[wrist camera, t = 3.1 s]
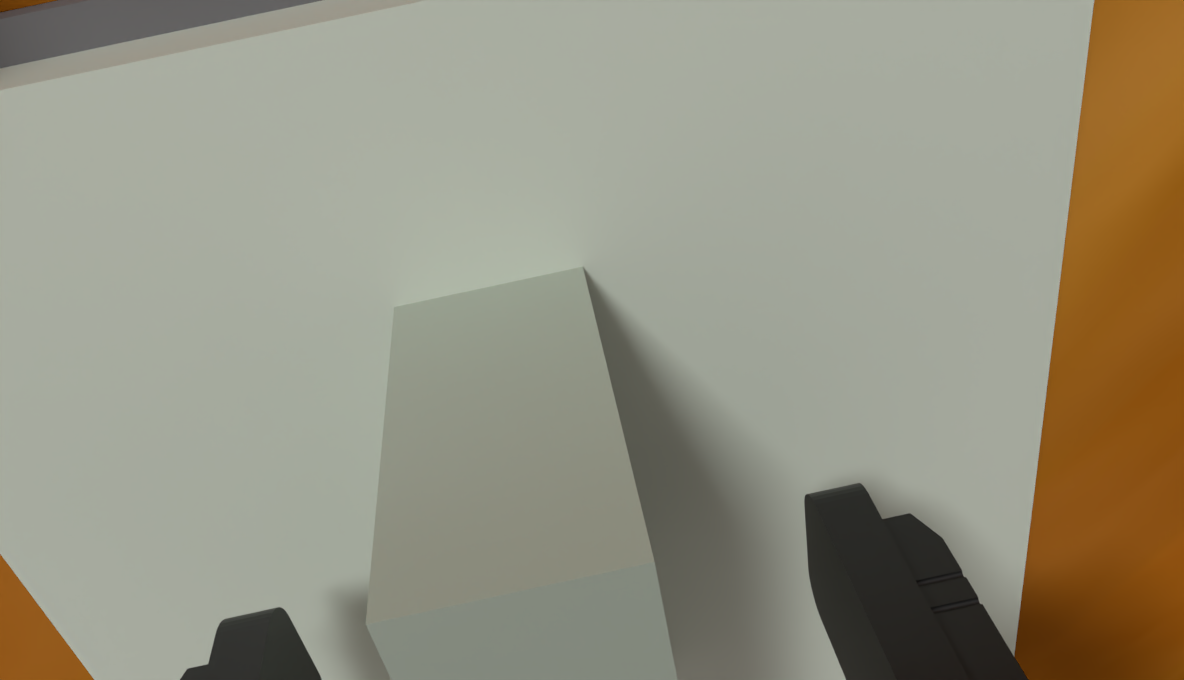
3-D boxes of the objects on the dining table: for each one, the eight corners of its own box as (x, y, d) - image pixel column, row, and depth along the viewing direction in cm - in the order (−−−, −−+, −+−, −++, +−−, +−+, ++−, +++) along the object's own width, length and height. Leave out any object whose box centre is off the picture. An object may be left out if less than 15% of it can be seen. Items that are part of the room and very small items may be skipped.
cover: (1061, -156, 11) (1579, -44, 6) (983, 666, 19) (1169, 999, 14) (-241, 119, 11) (-835, 471, 6) (251, 826, 19) (181, 1219, 14)
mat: (1089, -217, 11) (1109, -215, 11) (996, 660, 20) (1006, 676, 20) (-293, 74, 11) (-317, 86, 10) (239, 826, 20) (236, 845, 19)
